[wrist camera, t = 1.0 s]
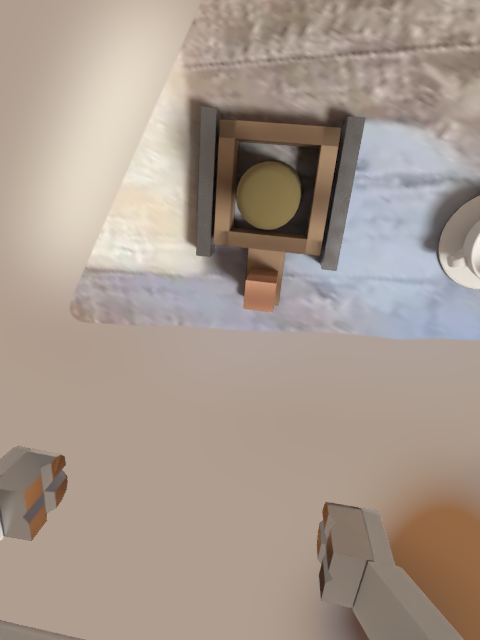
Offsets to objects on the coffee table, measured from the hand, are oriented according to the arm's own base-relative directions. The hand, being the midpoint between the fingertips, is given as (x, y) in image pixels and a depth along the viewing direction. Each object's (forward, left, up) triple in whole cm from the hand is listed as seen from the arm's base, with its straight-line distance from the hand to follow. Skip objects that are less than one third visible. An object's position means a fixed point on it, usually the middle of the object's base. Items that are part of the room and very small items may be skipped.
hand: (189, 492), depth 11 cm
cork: (-8, 0, -32) cm, 33 cm away
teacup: (-5, +23, -32) cm, 40 cm away
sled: (-5, 0, -31) cm, 32 cm away
